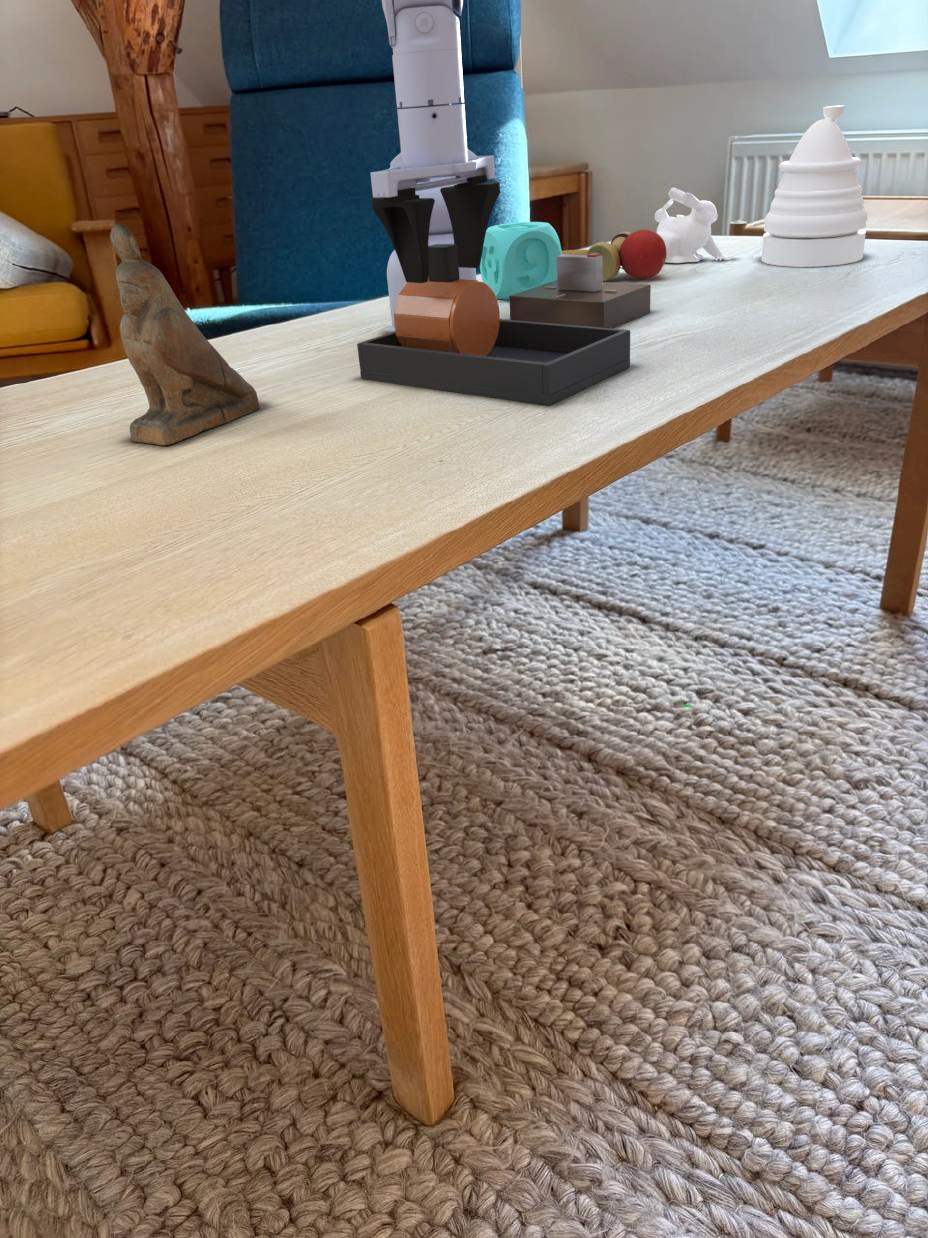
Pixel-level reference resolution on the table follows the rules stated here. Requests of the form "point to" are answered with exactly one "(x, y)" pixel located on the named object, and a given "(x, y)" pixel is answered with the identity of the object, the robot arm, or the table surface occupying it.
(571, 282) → the grey block with red
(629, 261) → the kendama
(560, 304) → the panel
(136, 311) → the worn brown figurine
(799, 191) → the honey pot
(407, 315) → the pot
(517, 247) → the decorative dice
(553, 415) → the table surface
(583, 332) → the dark grey tray
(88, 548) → the table surface
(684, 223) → the rabbit figurine
